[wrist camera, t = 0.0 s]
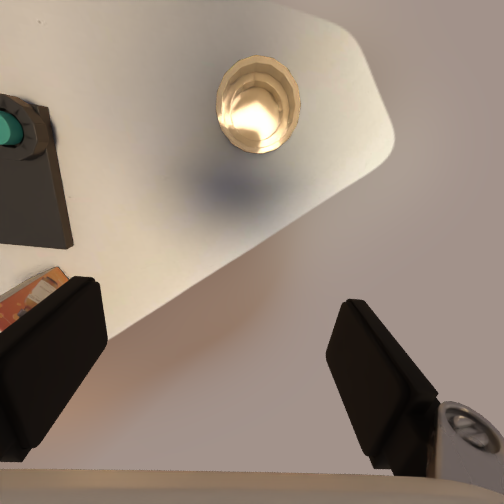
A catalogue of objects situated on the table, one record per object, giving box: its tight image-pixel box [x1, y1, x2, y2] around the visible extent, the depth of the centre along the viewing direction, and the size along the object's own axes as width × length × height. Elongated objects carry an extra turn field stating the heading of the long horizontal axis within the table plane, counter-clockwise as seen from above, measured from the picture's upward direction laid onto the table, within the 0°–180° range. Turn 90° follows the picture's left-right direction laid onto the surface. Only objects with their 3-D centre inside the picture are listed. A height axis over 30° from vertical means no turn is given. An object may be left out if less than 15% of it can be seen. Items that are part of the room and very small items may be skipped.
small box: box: [0, 267, 68, 333], centre depth 30 cm, size 8×6×10 cm
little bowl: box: [216, 55, 301, 154], centre depth 24 cm, size 7×7×6 cm
